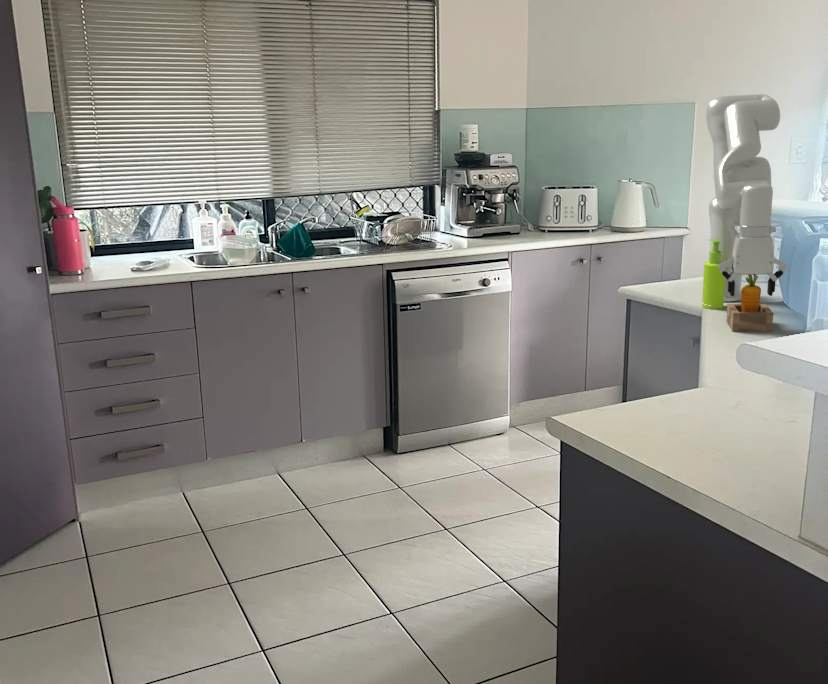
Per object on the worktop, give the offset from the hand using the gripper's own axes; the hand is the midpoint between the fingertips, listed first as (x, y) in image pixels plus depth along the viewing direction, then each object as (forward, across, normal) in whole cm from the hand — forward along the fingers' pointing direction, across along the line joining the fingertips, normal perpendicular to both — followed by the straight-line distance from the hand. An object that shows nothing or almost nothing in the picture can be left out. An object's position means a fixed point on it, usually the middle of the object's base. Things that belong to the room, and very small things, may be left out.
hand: (750, 294), depth 225 cm
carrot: (+9, 0, 0) cm, 9 cm away
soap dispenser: (+9, +6, -22) cm, 25 cm away
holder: (+9, 0, 0) cm, 9 cm away
